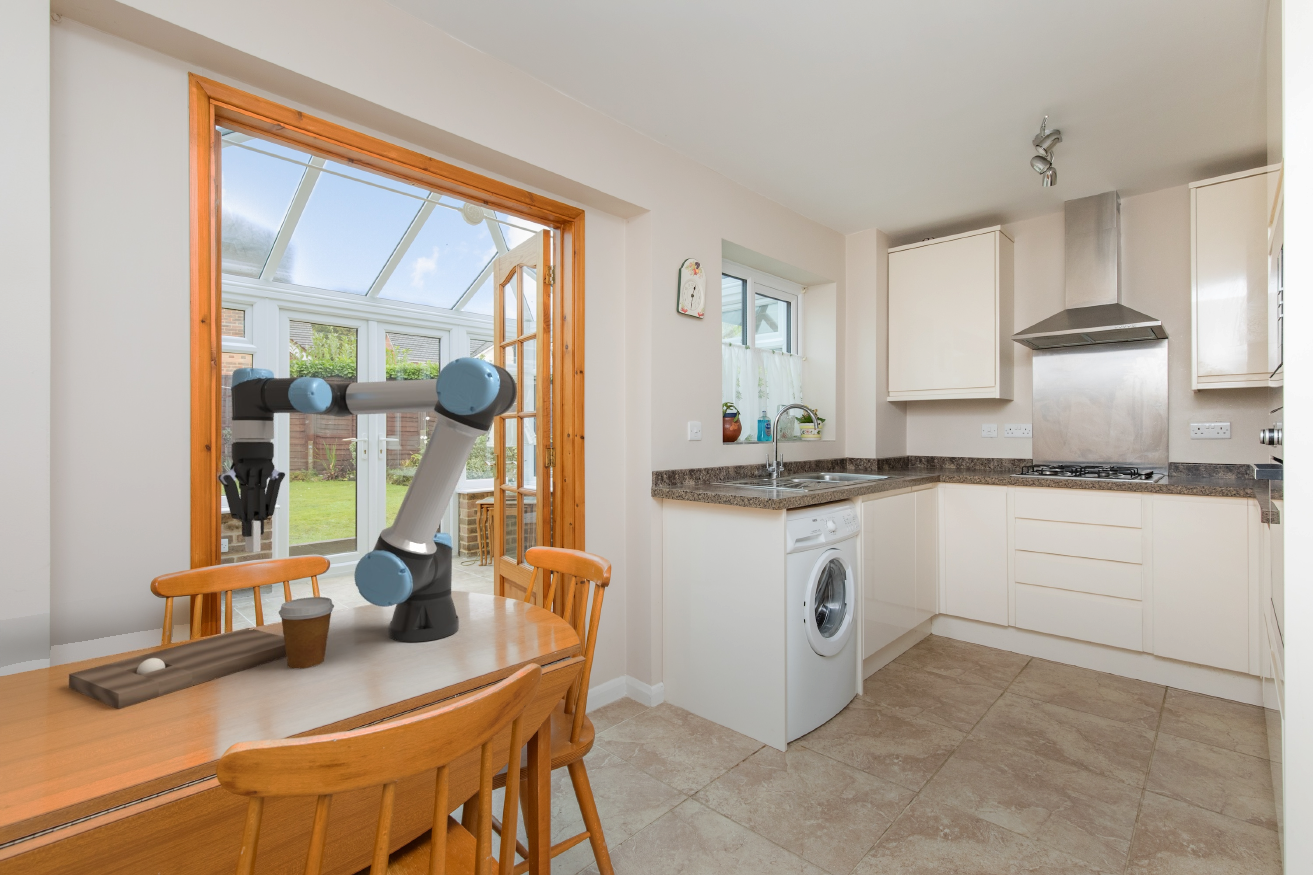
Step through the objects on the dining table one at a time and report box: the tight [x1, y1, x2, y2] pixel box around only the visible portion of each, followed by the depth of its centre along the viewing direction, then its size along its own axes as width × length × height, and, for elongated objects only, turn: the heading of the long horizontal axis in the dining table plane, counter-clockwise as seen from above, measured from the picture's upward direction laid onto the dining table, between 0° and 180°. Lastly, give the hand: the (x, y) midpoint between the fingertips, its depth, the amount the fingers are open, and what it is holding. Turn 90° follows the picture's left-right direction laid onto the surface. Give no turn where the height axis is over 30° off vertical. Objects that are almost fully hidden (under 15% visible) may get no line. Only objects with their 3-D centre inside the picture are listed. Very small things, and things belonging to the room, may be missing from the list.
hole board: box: [68, 627, 287, 710], centre depth 115 cm, size 18×30×2 cm, turn 153°
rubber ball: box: [137, 658, 165, 675], centre depth 110 cm, size 4×4×4 cm
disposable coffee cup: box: [278, 596, 335, 669], centre depth 119 cm, size 10×10×12 cm
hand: (252, 551), depth 128 cm, fingers closed
